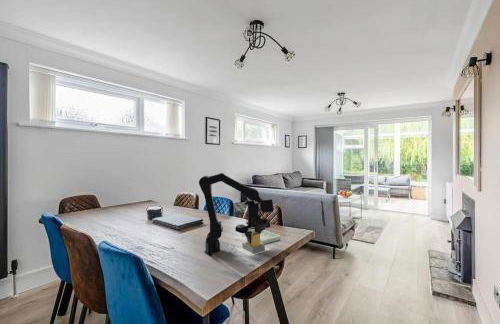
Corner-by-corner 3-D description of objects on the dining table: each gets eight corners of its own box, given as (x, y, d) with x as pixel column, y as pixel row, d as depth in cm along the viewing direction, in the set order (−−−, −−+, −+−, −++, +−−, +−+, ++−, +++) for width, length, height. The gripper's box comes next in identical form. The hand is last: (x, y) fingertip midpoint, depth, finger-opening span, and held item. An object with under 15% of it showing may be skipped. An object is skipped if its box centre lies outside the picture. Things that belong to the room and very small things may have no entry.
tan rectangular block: (253, 251, 127) (253, 235, 127) (247, 247, 132) (246, 232, 131) (260, 249, 129) (259, 233, 129) (253, 246, 134) (253, 231, 134)
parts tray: (262, 246, 137) (262, 240, 137) (241, 236, 154) (241, 231, 154) (280, 241, 145) (280, 235, 145) (259, 232, 162) (259, 227, 162)
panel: (249, 258, 121) (249, 250, 121) (235, 250, 131) (235, 244, 131) (271, 251, 130) (271, 244, 129) (257, 244, 139) (257, 238, 139)
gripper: (247, 218, 118) (247, 251, 118) (277, 213, 129) (277, 243, 129) (234, 214, 127) (235, 245, 127) (263, 209, 138) (263, 237, 138)
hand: (253, 242), depth 130 cm, fingers closed on tan rectangular block, 4 cm apart
